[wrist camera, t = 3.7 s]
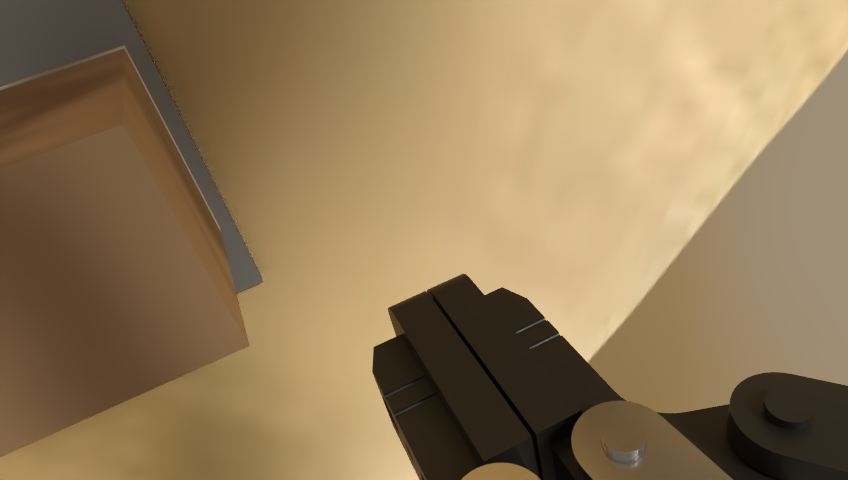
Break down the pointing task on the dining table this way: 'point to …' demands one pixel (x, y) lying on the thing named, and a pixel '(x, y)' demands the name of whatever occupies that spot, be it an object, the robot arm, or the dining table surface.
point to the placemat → (92, 34)
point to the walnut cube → (100, 251)
